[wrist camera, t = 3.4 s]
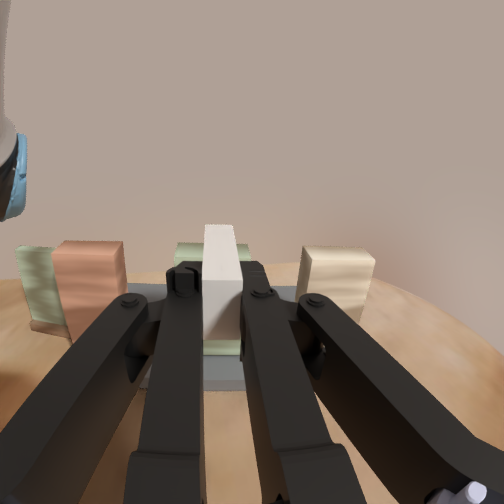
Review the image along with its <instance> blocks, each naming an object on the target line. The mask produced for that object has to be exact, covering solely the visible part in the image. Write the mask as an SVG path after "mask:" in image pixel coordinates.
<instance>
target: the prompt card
mask: <svg viewBox="0 0 504 504" xmlns="http://www.w3.org/2000/svg"><path fill="white" fill-rule="evenodd" d="M55 249H56V248H48V247H33V246H19V247H18V248H16V249H15V254H16V259H17V263H18V267H19V272H20V276H21V280H22V284H23V288H24V291H25V295H26V299H27V302H28V305H29V309H30V312H31V315H32V318H33V320H32V321H31V322H30V323H29V324H30V327H31V330H33V331H37V332H42V333H47V334H51V335H56V336H61V337H66V338H71V336H70V333H69V329H68V326H67V322H66V319H65V315H64V311H63V307H62V303H61V299H60V295H59V291H58V286H57V282H56V277H55V272H54V267H53V262H52V257H51V253H52V252H53V251H54V250H55Z"/></svg>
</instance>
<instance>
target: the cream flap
mask: <svg viewBox="0 0 504 504" xmlns="http://www.w3.org/2000/svg"><path fill="white" fill-rule="evenodd" d="M374 265H375V259H374V258H372V257H371V256H370V255H369V254H368V253H367V252H366V251H365V250H364V249H363V248H361V247H331V246H303V248H302V255H301V262H300V269H299V275H298V282H297V288H296V294H295V301H294V302H296V303H298V301H299V297H300V296H302V295H303V294H307V293H319V294H321V295H324V296H327V297H328V298H330V299H331V300H332V301H333V302H334V303H335V304H336V305H337V306H338V307H340V308H341V309H342V310H343V311H344V312H345V313H346V314H347V315H348V316H349V317H350V318H351V319H353V320H354V321H355V322H356V323H357V324H359V321H360V318H361V314H362V311H363V307H364V304H365V300H366V296H367V293H368V289H369V285H370V281H371V277H372V273H373V269H374Z"/></svg>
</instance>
